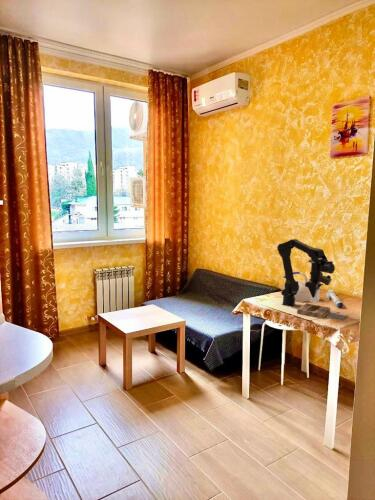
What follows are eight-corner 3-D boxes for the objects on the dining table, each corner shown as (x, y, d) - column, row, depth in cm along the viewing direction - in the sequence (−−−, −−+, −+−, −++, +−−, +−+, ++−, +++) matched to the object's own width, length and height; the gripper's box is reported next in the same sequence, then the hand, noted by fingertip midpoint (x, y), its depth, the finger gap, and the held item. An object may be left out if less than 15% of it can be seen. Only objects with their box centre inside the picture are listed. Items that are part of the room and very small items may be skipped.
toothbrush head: (336, 302, 221) (326, 287, 244) (334, 312, 222) (325, 296, 246) (344, 302, 220) (334, 287, 244) (343, 312, 222) (333, 296, 246)
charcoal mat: (326, 317, 203) (326, 316, 203) (330, 313, 210) (330, 312, 210) (342, 320, 197) (342, 319, 197) (346, 316, 205) (346, 315, 204)
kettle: (316, 302, 233) (317, 275, 230) (283, 300, 236) (284, 274, 234) (310, 294, 253) (312, 269, 250) (280, 293, 256) (281, 268, 253)
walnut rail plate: (297, 313, 209) (297, 309, 209) (306, 307, 222) (306, 303, 221) (321, 318, 201) (321, 314, 200) (329, 311, 213) (329, 307, 213)
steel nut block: (309, 301, 210) (310, 288, 209) (311, 300, 213) (312, 287, 212) (316, 303, 207) (317, 289, 206) (319, 301, 211) (319, 288, 210)
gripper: (325, 275, 196) (323, 302, 198) (334, 270, 210) (333, 295, 213) (305, 272, 202) (303, 299, 204) (315, 267, 217) (314, 292, 219)
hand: (314, 296), depth 210 cm, fingers closed on steel nut block, 4 cm apart
